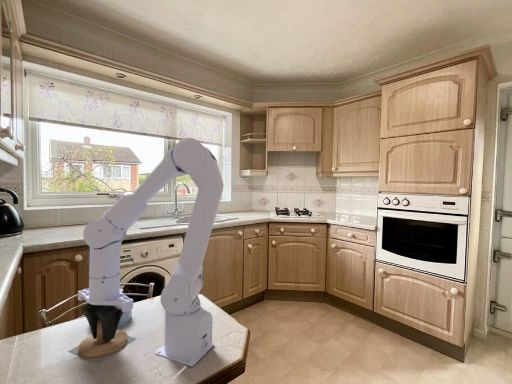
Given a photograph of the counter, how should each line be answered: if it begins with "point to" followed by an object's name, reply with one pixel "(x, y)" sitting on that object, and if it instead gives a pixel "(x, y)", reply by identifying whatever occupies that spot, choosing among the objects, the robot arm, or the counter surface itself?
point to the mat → (99, 359)
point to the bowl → (125, 317)
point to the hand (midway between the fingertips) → (103, 338)
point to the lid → (101, 344)
